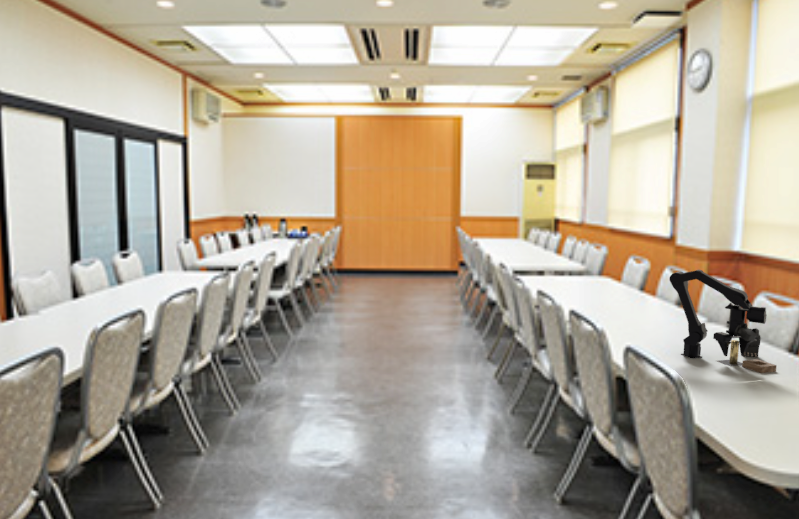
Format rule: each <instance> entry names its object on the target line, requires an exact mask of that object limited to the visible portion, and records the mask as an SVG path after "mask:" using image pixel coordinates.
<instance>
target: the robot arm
mask: <svg viewBox="0 0 799 519" xmlns="http://www.w3.org/2000/svg"><path fill="white" fill-rule="evenodd" d="M693 280H698V281H699V282H701V283H702V284H705V285H706V286H708V287H710V288H711V289H713V290H715V291H717V292H718V293H720V294H721V295H723V297H725V299H727V301H729V302H730V303H728V305H726V306H725V307H724V308H725V309H726V310H727V309H728V310H729V319H728V320H726V325H727V324H728V330H725V332H723V331H717V332H714V333H713V337H712V339H714V340H715V341H716V342H717V343H718V344H719V347H720V349H721V351H722V354H723V356H725V357H727V356H728V354H729V347H730V345H731V343H732V342H731V340H733V339H738V341H739V350H740V351H739V352H740V355H741V354H742V355H744V353H745V351H746V349H747V347H748V345H749V344H750V343H751V342H753V341H755V339H758V337H759V336H758V335H760V330H759V329H758V328H757V327H755V328H749V327H748V323H746V320H747V321H748V322H750V323H756V324H764V325H765V324H766V321H767V307H766V306H753V304H752V303H751V302H750V300H749V298H748V297H749V296H748V294H747V292H745V291H744V290H741V289H739V288H736V287H732V286H729V285H728V284H726V283H723V282H722V281H720V280H719V279H717V278H715V277H713V276H711V275H709V274H708V273H706V272H704V271H703V270H702V269H697V270H692V271H686V272H683V271H676V272H674V273H672V274H670V276H669V282H670V284H671V286H672V287H673V289H674V290H675V292H676V293H677V295H678V298H679V300H680V303H681V306H682V309H683V311H684V314H685V318H686V320H687V327H688V328H687V330H688V336H687V337H685V338H684V339H682V340H683V343H684V344H683V353H680V356H683V357H686V358H689V359H701V358H703V355H702V356H701V350H702V346H701V342H702V341H703V340H704V339H705V338H706V337H707V336H708V329H707V327H706V323H705V322H703V323H702V322H701V321H700V320H699V317H698V315H697V312H696V309H695V307H694V304H693V301H692V298H691V295H690V292H689V283H688V282H690V281H693ZM742 355H741V356H742Z"/></svg>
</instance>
